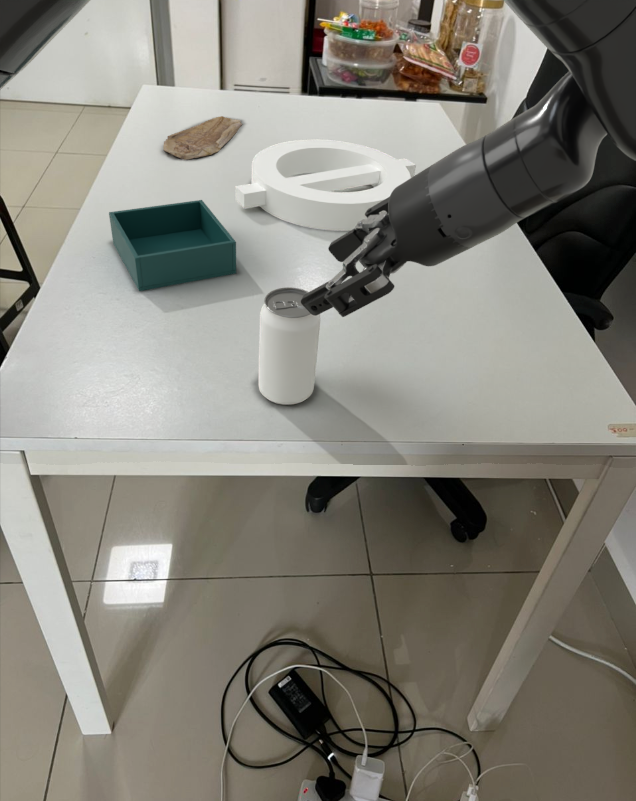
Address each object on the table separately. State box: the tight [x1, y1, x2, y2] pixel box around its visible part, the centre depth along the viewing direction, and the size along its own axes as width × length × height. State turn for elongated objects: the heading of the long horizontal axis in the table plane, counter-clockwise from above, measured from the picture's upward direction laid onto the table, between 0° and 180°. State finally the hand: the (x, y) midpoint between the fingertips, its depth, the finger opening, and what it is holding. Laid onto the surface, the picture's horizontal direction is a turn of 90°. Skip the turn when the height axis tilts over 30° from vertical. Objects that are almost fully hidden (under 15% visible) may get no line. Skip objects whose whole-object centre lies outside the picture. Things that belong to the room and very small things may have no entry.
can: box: [257, 286, 321, 406], centre depth 71 cm, size 6×6×12 cm
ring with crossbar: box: [234, 138, 417, 232], centre depth 115 cm, size 28×28×5 cm
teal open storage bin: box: [108, 199, 237, 292], centre depth 93 cm, size 14×14×5 cm
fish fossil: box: [162, 115, 243, 161], centre depth 132 cm, size 26×10×1 cm, turn 167°
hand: (321, 279), depth 64 cm, fingers open, 8 cm apart
